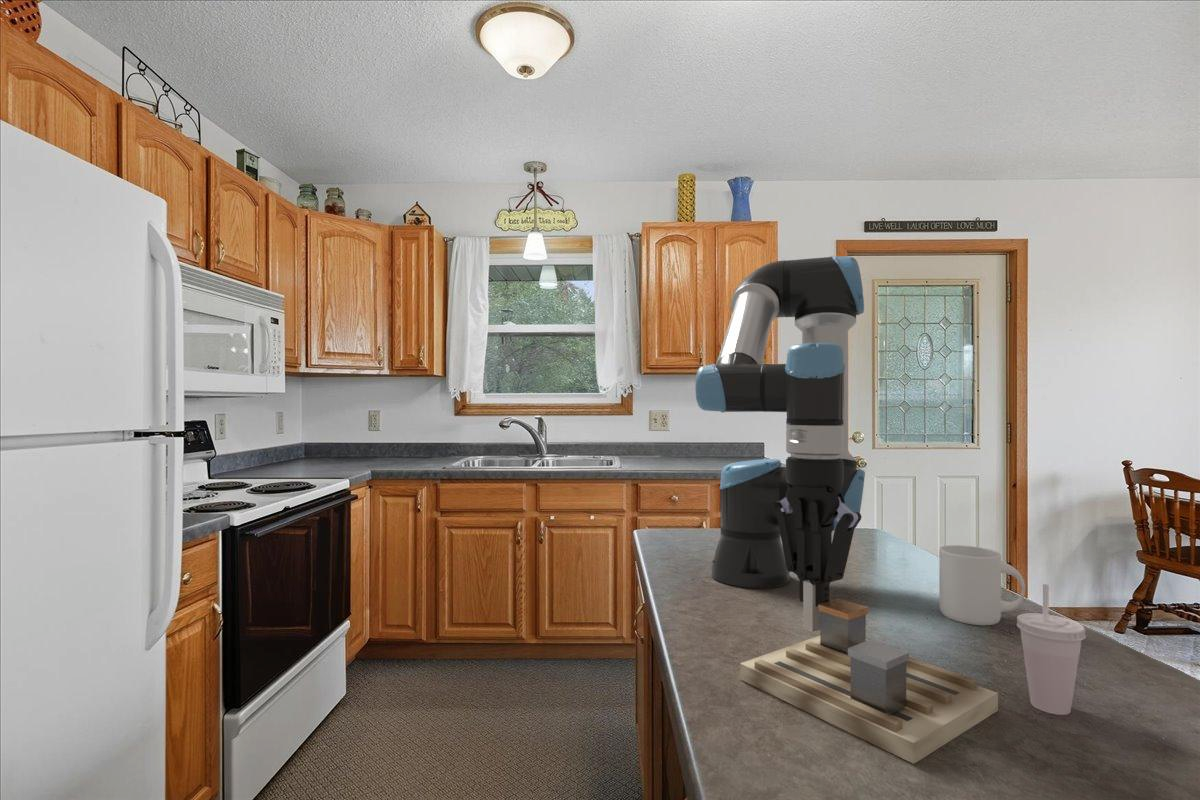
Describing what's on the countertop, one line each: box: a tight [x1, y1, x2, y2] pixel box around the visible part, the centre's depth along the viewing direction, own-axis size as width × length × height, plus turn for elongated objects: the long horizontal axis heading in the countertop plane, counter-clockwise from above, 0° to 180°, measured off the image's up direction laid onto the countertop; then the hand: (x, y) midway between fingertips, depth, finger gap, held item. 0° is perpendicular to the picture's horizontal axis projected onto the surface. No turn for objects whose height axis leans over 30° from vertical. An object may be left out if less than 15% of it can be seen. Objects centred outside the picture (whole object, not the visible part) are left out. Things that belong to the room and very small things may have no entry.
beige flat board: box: [739, 635, 999, 765], centre depth 73 cm, size 22×18×3 cm
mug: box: [938, 544, 1026, 626], centre depth 100 cm, size 9×12×11 cm
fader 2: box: [848, 639, 910, 715], centre depth 66 cm, size 4×4×6 cm
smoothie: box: [1016, 583, 1087, 716], centre depth 70 cm, size 6×6×14 cm
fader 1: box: [818, 597, 869, 655], centre depth 81 cm, size 4×4×6 cm
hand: (814, 628), depth 84 cm, fingers closed
